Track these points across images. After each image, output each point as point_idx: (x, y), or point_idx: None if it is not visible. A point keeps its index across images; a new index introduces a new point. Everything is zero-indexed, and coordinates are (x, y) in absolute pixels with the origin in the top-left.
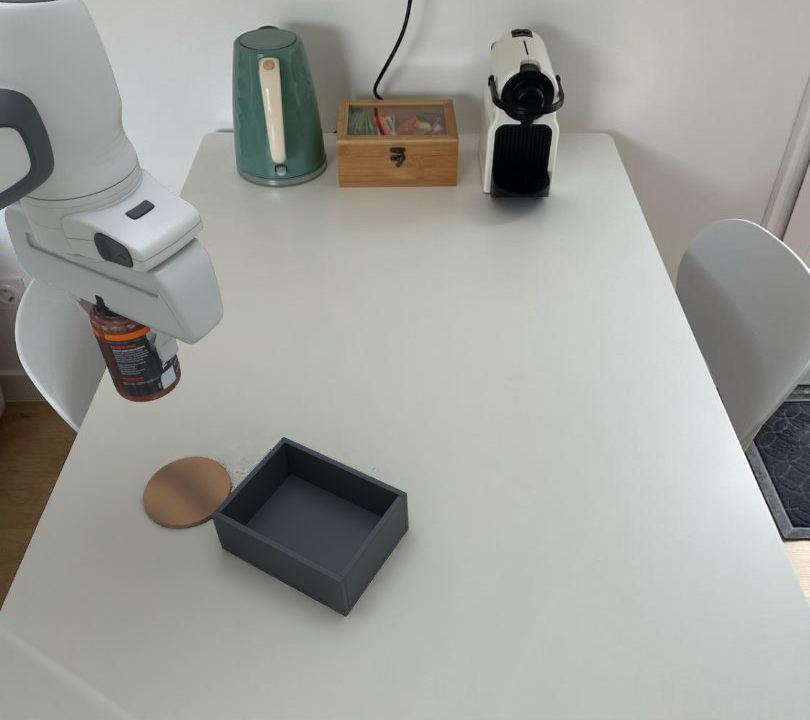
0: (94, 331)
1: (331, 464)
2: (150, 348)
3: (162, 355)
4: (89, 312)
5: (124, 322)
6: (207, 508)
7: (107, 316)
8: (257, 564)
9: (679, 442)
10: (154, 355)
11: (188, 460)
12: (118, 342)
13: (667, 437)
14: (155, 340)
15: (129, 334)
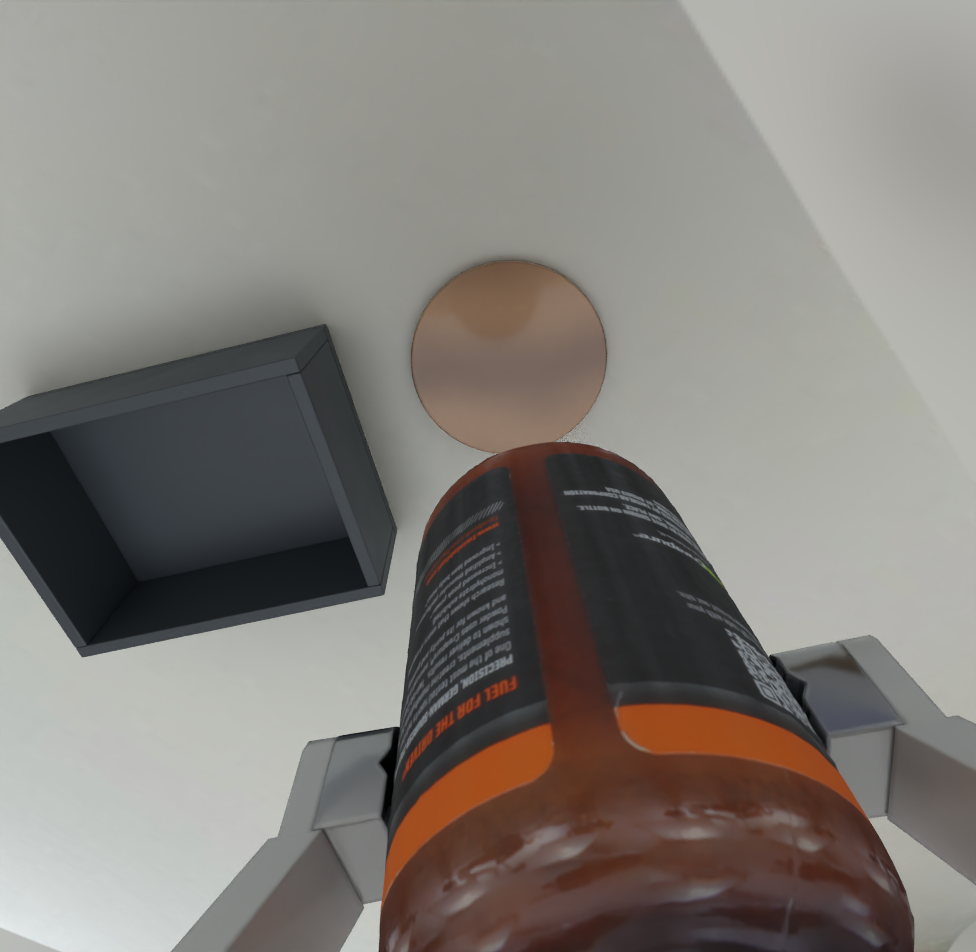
0: (683, 724)
1: (247, 611)
2: (375, 777)
3: (296, 778)
4: (932, 757)
5: None
6: (430, 364)
7: None
8: (224, 351)
9: (42, 897)
10: (368, 740)
11: (575, 413)
12: (462, 750)
13: (60, 895)
14: (273, 890)
15: (400, 862)
